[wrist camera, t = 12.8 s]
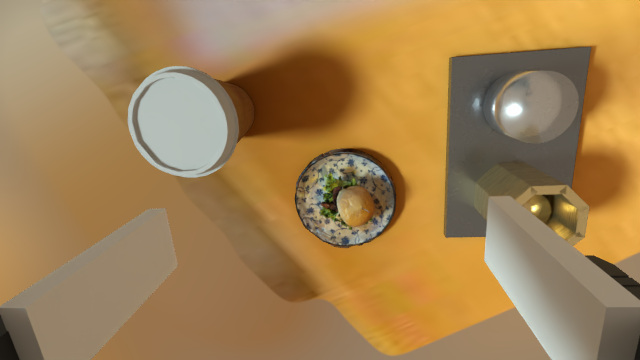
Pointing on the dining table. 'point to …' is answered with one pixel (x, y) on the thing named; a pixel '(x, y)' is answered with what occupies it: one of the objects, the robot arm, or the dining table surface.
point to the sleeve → (526, 183)
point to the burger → (345, 197)
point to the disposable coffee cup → (188, 120)
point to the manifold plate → (495, 146)
